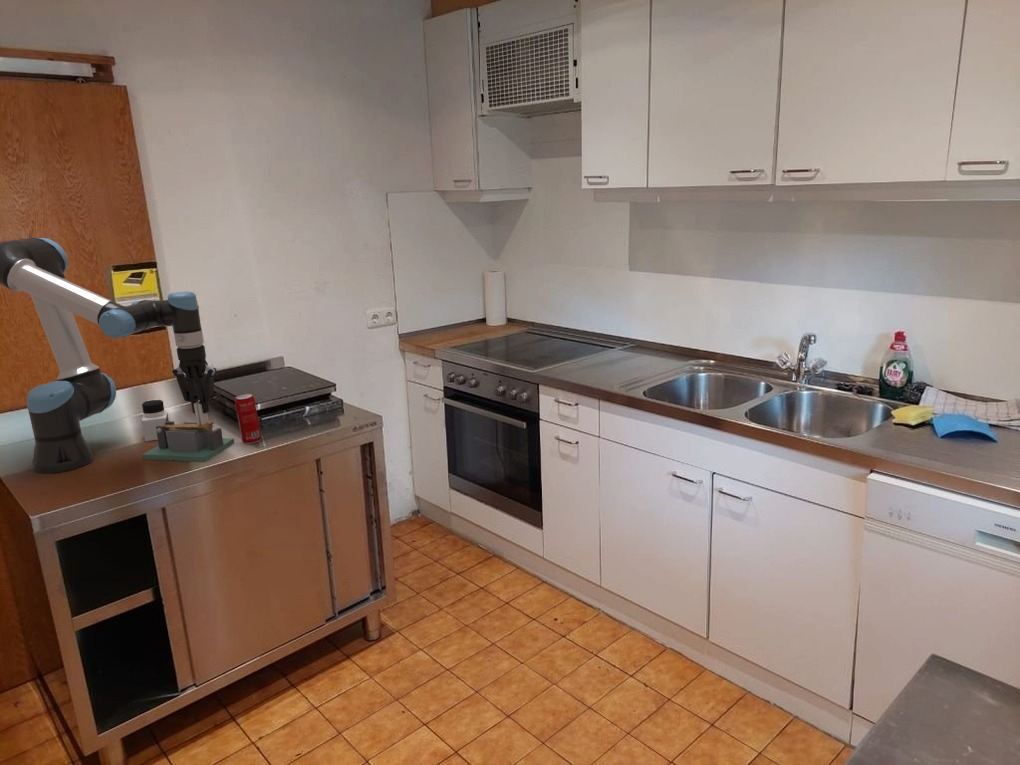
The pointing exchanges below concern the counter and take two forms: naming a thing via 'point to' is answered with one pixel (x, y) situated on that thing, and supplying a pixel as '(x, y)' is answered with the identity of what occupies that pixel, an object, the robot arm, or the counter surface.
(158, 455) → the board
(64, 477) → the counter surface
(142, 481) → the counter surface
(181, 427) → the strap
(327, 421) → the counter surface
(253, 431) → the beverage can
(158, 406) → the medicine bottle
